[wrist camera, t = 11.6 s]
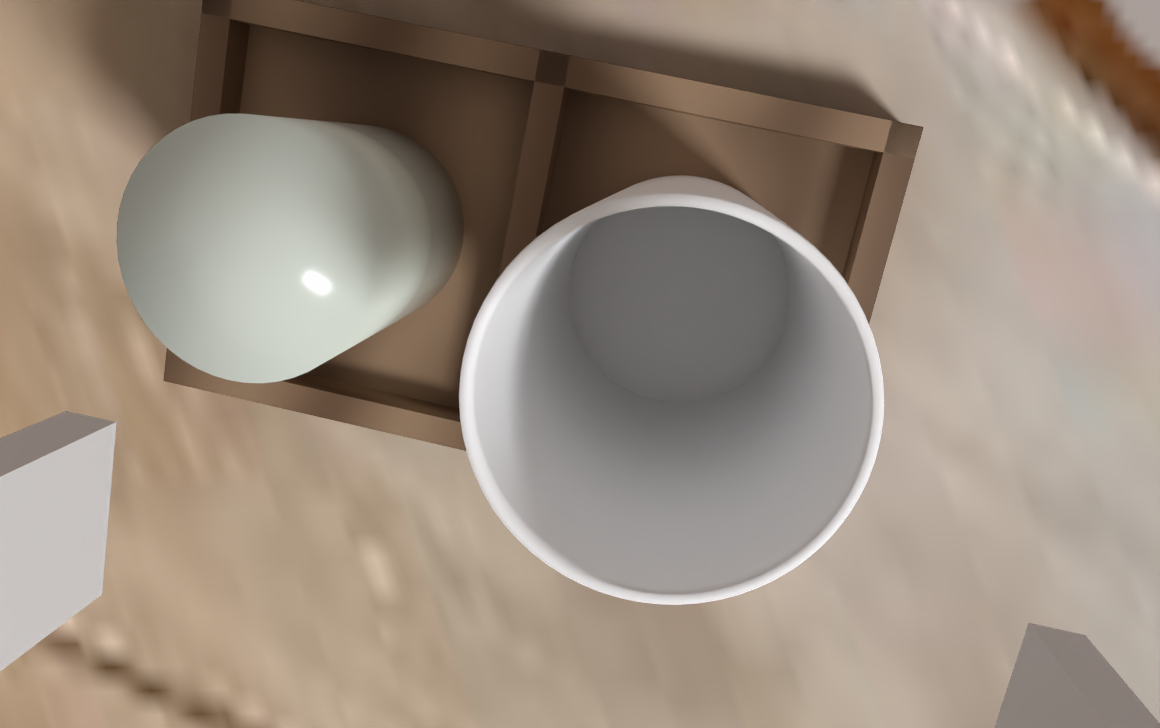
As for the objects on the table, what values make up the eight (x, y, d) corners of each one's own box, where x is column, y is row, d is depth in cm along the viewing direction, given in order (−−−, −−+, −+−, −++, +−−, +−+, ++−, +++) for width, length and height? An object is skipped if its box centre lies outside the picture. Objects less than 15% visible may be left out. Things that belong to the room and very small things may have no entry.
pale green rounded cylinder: (264, 298, 36) (105, 352, 26) (288, 107, 34) (128, 88, 24) (446, 339, 35) (353, 409, 26) (479, 147, 34) (394, 144, 24)
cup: (560, 400, 35) (457, 592, 20) (565, 172, 34) (455, 185, 18) (788, 412, 34) (867, 621, 19) (804, 178, 33) (907, 197, 17)
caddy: (197, 366, 38) (163, 380, 35) (239, -7, 35) (204, -19, 32) (803, 505, 36) (811, 530, 34) (906, 129, 33) (923, 127, 31)
